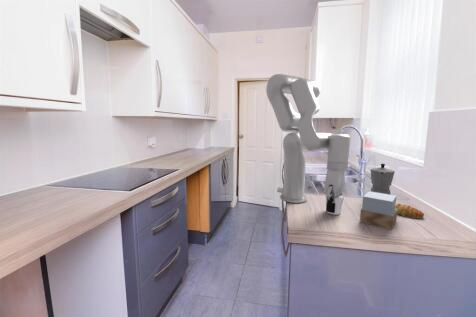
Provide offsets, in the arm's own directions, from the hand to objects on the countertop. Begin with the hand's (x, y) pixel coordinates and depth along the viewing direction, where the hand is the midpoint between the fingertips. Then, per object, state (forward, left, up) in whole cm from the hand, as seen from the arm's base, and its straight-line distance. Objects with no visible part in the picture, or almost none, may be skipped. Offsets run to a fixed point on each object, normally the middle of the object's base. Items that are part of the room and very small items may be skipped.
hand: (333, 209), depth 96 cm
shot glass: (0, 0, -1) cm, 1 cm away
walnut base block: (+16, +2, -2) cm, 16 cm away
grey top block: (+15, +2, +3) cm, 16 cm away
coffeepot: (+11, +28, -2) cm, 30 cm away
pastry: (+22, +18, -2) cm, 29 cm away
